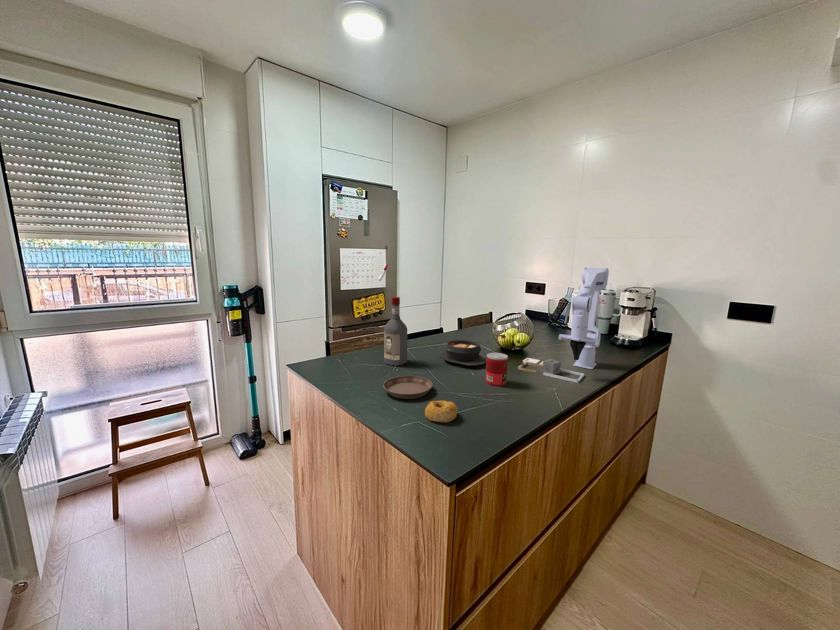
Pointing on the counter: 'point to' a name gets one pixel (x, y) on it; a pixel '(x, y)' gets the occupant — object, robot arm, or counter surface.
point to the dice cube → (551, 366)
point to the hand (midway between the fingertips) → (576, 359)
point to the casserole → (463, 353)
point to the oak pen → (529, 369)
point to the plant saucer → (407, 387)
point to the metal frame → (566, 377)
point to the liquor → (395, 337)
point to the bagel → (441, 411)
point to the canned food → (496, 369)
